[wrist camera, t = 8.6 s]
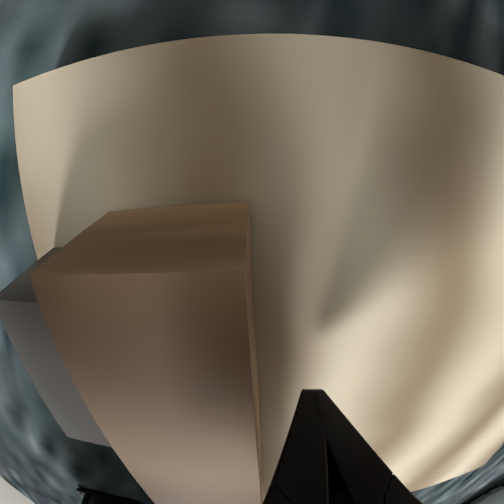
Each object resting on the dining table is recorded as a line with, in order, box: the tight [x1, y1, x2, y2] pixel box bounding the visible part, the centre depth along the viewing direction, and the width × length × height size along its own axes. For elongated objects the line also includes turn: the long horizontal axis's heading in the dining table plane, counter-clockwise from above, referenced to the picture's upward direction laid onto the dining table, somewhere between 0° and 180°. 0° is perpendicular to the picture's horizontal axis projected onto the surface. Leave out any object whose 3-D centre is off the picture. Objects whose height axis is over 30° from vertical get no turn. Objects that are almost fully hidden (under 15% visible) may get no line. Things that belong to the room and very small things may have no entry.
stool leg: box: [29, 202, 264, 504], centre depth 9 cm, size 17×4×4 cm, turn 3°
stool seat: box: [0, 34, 504, 498], centre depth 10 cm, size 24×24×5 cm
